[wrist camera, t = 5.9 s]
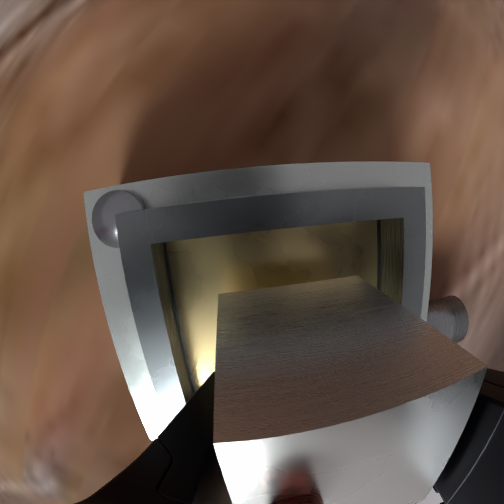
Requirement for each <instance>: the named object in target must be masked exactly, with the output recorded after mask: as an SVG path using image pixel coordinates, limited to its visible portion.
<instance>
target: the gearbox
mask: <svg viewBox="0 0 504 504" xmlns="http://www.w3.org/2000/svg"><path fill="white" fill-rule="evenodd" d="M84 202H85V210H86V218H87V225H88V232H89V238H90V244H91V250H92V256H93V261H94V266H95V271H96V276H97V281H98V285H99V290H100V294H101V298H102V302H103V306H104V310H105V314H106V318H107V322H108V325H109V329H110V332H111V336H112V339H113V342H114V346H115V349H116V352H117V355H118V358H119V361H120V364H121V367H122V370H123V373H124V376H125V379H126V382H127V384H128V387H129V390H130V392H131V395H132V398H133V400H134V403H135V405H136V408H137V410H138V413H139V415H140V417H141V420H142V422H143V424H144V427H145V429H146V431H147V434H148V436H149V438H150V440H155V439H156V438H157V437H158V435H159V434H160V433H161V432H162V431H163V430H164V429H165V428H166V426H167V425H168V424H169V423H170V422H171V421H172V420H173V418H174V417H175V416H176V415H177V414H178V413H179V411H180V410H181V409H182V408H183V407H184V406H185V404H186V403H187V402H188V401H189V400H190V399H191V397H192V396H193V395H194V394H195V393H196V391H197V390H198V389H199V388H200V387H201V386H202V384H203V383H204V382H205V381H206V380H207V378H208V377H209V376H210V375H211V373H212V372H215V357H216V333H217V312H218V294H220V293H229V292H237V291H246V290H254V289H263V288H271V287H279V286H286V285H294V284H301V283H309V282H316V281H323V280H330V279H337V278H343V277H350V276H356V275H357V276H359V277H360V278H362V279H363V280H365V281H366V282H368V283H369V284H371V285H372V286H374V287H375V288H377V289H378V290H380V291H381V292H383V293H384V294H386V295H387V296H389V297H390V298H392V299H393V300H395V301H396V302H398V303H399V304H401V305H402V306H404V307H405V308H407V309H408V310H410V311H411V312H412V313H414V314H415V315H417V316H418V317H420V318H421V319H423V320H424V321H425V322H427V323H428V324H430V325H431V326H433V327H434V328H435V329H437V330H438V331H440V332H441V333H443V334H444V335H445V336H447V337H448V338H450V339H451V340H452V341H454V342H455V343H458V342H460V341H462V340H463V339H464V337H465V335H466V333H467V330H468V314H467V311H466V308H465V306H464V304H463V303H462V301H461V300H460V299H459V298H457V297H456V296H447V297H443V298H440V299H436V300H432V301H429V295H430V283H431V269H432V246H433V209H432V185H431V171H430V163H423V162H381V161H364V162H320V163H299V164H282V165H268V166H256V167H245V168H234V169H225V170H215V171H207V172H199V173H191V174H184V175H176V176H169V177H163V178H156V179H150V180H144V181H138V182H132V183H127V184H121V185H116V186H111V187H105V188H100V189H95V190H91V191H86V192H84Z"/></svg>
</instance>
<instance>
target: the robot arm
mask: <svg viewBox="0 0 504 504" xmlns="http://www.w3.org/2000/svg"><path fill="white" fill-rule="evenodd" d="M214 387H215V372H212V373H211V375H210V376H209V377H208V378H207V380H206V381H205V382H204V383H203V384H202V386H201V387H200V388H199V389H198V390H197V391H196V393H195V394H194V395H193V396H192V397H191V399H190V400H189V401H188V402H187V403H186V404H185V406H184V407H183V408H182V409H181V410H180V411H179V413H178V414H177V415H176V416H175V417H174V418H173V420H172V421H171V422H170V423H169V424H168V425H167V426H166V428H165V429H164V430H163V431H162V432H161V433H160V434H159V435H158V437H157V438H156V439H155V440H154V441H153V442H152V443H151V444H150V445H149V446H148V447H147V449H146V450H145V451H144V452H143V453H142V454H141V455H140V456H139V457H138V458H137V459H136V460H134V461H133V462H132V463H131V464H130V465H129V466H128V467H127V468H125V469H124V470H123V471H122V472H121V473H119V474H118V475H117V476H116V477H114V478H113V479H112V480H111V481H109V482H108V483H107V484H106V485H104V486H103V487H102V488H100V489H99V490H98V491H97V492H95V493H94V494H93V495H91V496H90V497H88V498H87V499H85V500H83V501H80V502H78V503H75V504H233V503H232V500H231V498H230V495H229V492H228V489H227V486H226V483H225V480H224V477H223V474H222V470H221V467H220V464H219V461H218V458H217V454H216V451H215V448H214V444H213V432H214ZM433 488H434V490H435V491H436V492H437V493H440V495H441V497H442V499H443V501H444V502H442V503H440V504H504V372H502V371H497V370H493V369H488V368H487V370H486V373H485V376H484V379H483V382H482V385H481V388H480V391H479V394H478V396H477V399H476V401H475V404H474V406H473V409H472V411H471V414H470V416H469V419H468V421H467V423H466V425H465V428H464V430H463V432H462V434H461V436H460V438H459V440H458V442H457V444H456V446H455V448H454V450H453V452H452V454H451V456H450V458H449V460H448V462H447V463H446V465H445V467H444V469H443V470H442V472H441V474H440V476H439V477H438V479H437V481H436V482H435V484H434V485H433Z"/></svg>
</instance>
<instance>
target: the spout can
mask: <svg viewBox="0 0 504 504" xmlns="http://www.w3.org/2000/svg"><path fill="white" fill-rule="evenodd" d="M487 367H488V366H487V365H485V364H484V363H483V362H481V361H480V360H479V359H477V358H476V357H474V356H473V355H472V354H470V353H469V352H468V351H466V350H465V349H463V348H462V347H461V346H459V345H458V344H457V343H455V342H454V341H452V340H451V339H450V338H448V337H447V336H445V335H444V334H443V333H441V332H440V331H438V330H437V329H435V328H434V327H433V326H431V325H430V324H428V323H427V322H425V321H424V320H423V319H421V318H420V317H418V316H417V315H415V314H414V313H412V312H411V311H410V310H408V309H407V308H405V307H404V306H402V305H401V304H399V303H398V302H396V301H395V300H393V299H392V298H390V297H389V296H387V295H386V294H384V293H383V292H381V291H380V290H378V289H377V288H375V287H374V286H372V285H371V284H369V283H368V282H366V281H365V280H363V279H362V278H360V277H359V276H357V275H356V276H350V277H343V278H337V279H330V280H323V281H316V282H309V283H301V284H294V285H286V286H279V287H271V288H263V289H254V290H246V291H237V292H229V293H220V294H218V312H217V333H216V357H215V387H214V432H213V444H214V448H215V451H216V454H217V458H218V461H219V464H220V467H221V470H222V474H223V477H224V480H225V483H226V486H227V489H228V492H229V495H230V498H231V500H232V503H233V504H416V503H418V502H420V501H422V500H424V499H425V498H426V496H427V495H428V493H429V492H430V490H431V488H432V487H433V485H434V484H435V482H436V481H437V479H438V477H439V476H440V474H441V472H442V470H443V469H444V467H445V465H446V463H447V462H448V460H449V458H450V456H451V454H452V452H453V450H454V448H455V446H456V444H457V442H458V440H459V438H460V436H461V434H462V432H463V430H464V428H465V425H466V423H467V421H468V419H469V416H470V414H471V411H472V409H473V406H474V404H475V401H476V399H477V396H478V394H479V391H480V388H481V385H482V382H483V379H484V376H485V373H486V370H487Z"/></svg>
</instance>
